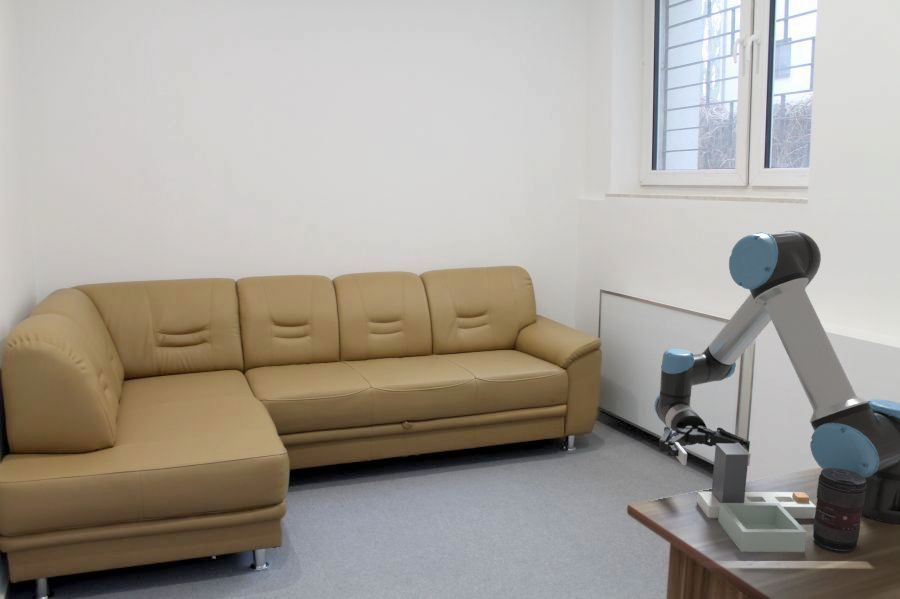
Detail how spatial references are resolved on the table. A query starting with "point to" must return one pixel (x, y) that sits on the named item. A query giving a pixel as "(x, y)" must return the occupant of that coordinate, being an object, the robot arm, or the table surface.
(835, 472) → the camera lens
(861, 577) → the table surface
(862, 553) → the table surface
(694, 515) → the table surface
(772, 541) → the bin
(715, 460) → the tall grey pillar
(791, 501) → the strip
